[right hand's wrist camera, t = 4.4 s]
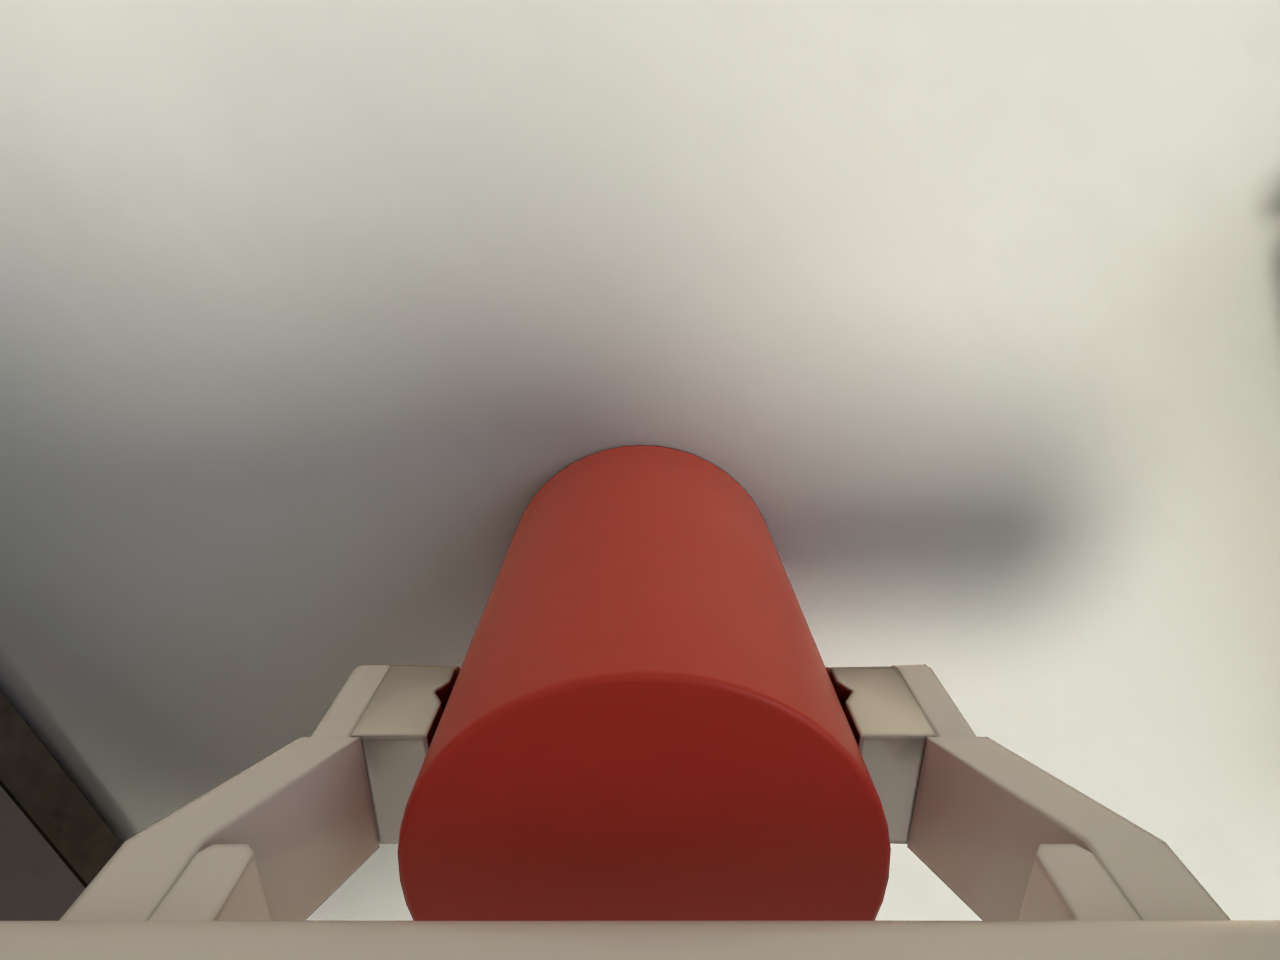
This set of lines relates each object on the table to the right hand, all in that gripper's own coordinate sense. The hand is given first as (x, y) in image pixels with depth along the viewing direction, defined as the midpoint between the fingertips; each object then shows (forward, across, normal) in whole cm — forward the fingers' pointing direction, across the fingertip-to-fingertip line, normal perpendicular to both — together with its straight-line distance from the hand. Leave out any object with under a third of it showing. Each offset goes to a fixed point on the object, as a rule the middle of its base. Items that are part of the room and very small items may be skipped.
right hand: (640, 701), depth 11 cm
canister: (+4, 0, 0) cm, 4 cm away
